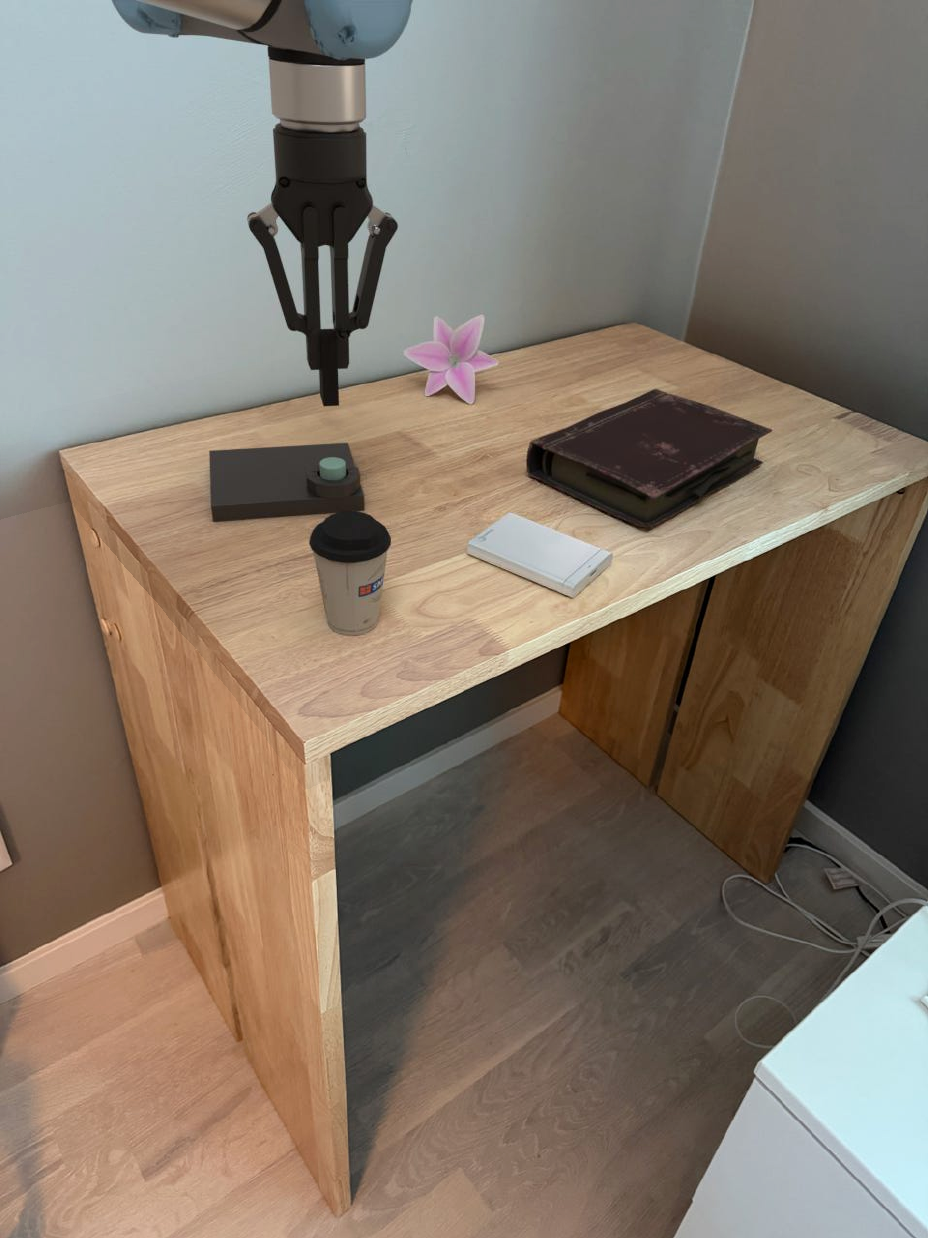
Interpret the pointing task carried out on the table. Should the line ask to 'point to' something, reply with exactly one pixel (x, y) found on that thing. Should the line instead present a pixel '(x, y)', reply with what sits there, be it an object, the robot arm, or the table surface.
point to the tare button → (332, 468)
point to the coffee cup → (351, 569)
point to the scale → (281, 482)
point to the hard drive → (540, 554)
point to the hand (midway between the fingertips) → (329, 400)
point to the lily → (453, 357)
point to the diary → (647, 456)
